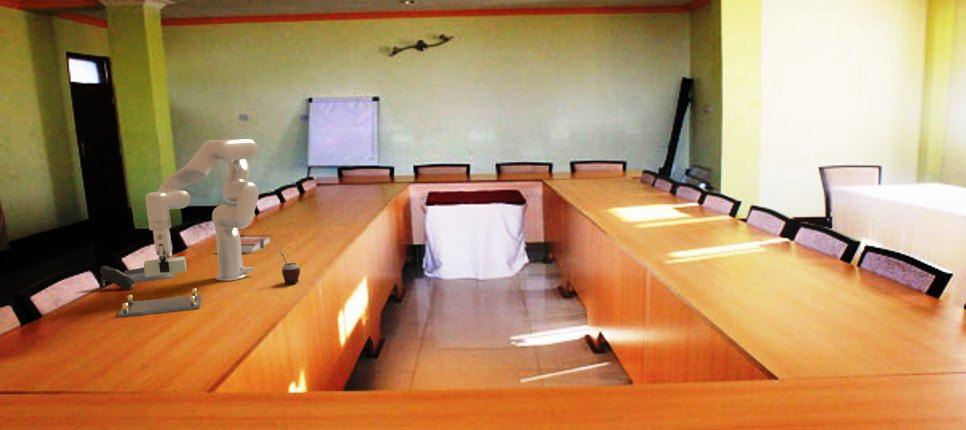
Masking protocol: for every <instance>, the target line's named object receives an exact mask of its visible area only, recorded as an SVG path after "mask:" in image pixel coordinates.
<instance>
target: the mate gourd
mask: <svg viewBox="0 0 966 430" xmlns="http://www.w3.org/2000/svg"><path fill="white" fill-rule="evenodd" d="M275 250H276V251H278V252H279V253H280V254H281V256H282V259H283V260H284V263H285V264H283V266H282V269H281V273H282V274H281V275H282V277H283V279H284V285H291V284H292V285H295V286H296V285H297V283H299V277H300V275H301V270H300V266H299V265H298V263H296V262H287V259H286V257H285V253H283V252H282V251H281V250H280V249H278V248H275Z"/></svg>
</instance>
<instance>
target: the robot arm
mask: <svg viewBox="0 0 966 430" xmlns="http://www.w3.org/2000/svg"><path fill="white" fill-rule="evenodd" d="M258 149H259V148H258V145H257V142H255V141H254V140H253V139H250V138H227V139H209V140H206V141H205V142H204V143H203V144H202V145H201V146H200V148H198V150H197V151H196V153H195V154H194V155H193V156H192V158H191V159H190V160H189V161H188V163H187V164H185V165H184V166H183V167H182V168H180V169H178V170H176V171H175V172H174V173H171V175H170V176H169V177H168V178H166V179H165V180H164V181H163V183H162V184H161V185H160V186H159V188H158V190H157V191H153V192H152V191H151V192H149V193H146V195H145V205H146V212H147V213H146V215H147V220H148V227H149V229H148V230H149V231H152V234H153V235H152V236H153V241H154V242H153V243H154V248H155V252H156V256H158V259H159V267H160V272H161V273H163V272H169V263H168V261H167V258H171V256H170V254H171V253H172V252H173V244H172V239H171V231H170V229H171V228H172V223H171V214H170V212H171V211H170V210H175V209H176V210H180V209H184V208H187V207H188V206H189V205H190V203H191V201H192V200H191V199H192V197H191V195H190V193H189V192H188V191H187V190H183V189H184V188H185V187H187V186H189V185H192V184H194V183H197V182H199V181H202V180H204V179H206V178H207V177H208V175H209V174H210V172H211V171H212V170H213V168H214V167H215V165H217V163H219V162H220V161H222V162H223V161H225V162H227V164H228V170H227V171H228V172H227V175H226V178H225V182H224V186H223V189H222V198H223V199H224V201H226V202H228V203H233V204H219V205H217V206H216V207H215V208H214V209H213V211H212V215H211V219H212V224H213V226H214V231H215V237H216V247H217V248H216V250H217V251H216V252H217V263H218V273H217V274H216V275H215V279H216V280H217V281H222V282H223V281H224V282H225V281H226V282H227V281H228V282H229V281H237V280H242V279H245V278H247V276H248V273H253V272H255V270H254V269H255V267H254V266H253V267H251V266H246V267H245V266H244V264H243V256H242V255H243V253H241V239H240V235H241V233H240V230H239V229H246V228H248V227H249V225H250V224H251V223H252V221H253V219H254V215H255V210H256V208H257V204H258V200H259V189H258V186H257V185H256V184H255V183H254V182H251V181H249V178H250V177H249V176H250V172H251V171H250V165H249V163H248V161H247V160H250V159H253V158H255V157H256V155H257V154H258V151H259V150H258ZM234 203H235V205H234Z"/></svg>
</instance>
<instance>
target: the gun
mask: <svg viewBox="0 0 966 430" xmlns="http://www.w3.org/2000/svg"><path fill="white" fill-rule="evenodd" d="M99 273H100V274H101V275H100V280H99V281H100V283H99V284H100V287H101V288H102V289H105V288H106V282H108V283H109V284H112V283H113V284H114V285H116V286H117V287H120V288H121V289H123V290H126V291H127V290H132V289H135V288H136V285H135V283H134V281H133V280H132V279H131V278H130V277H128V276H127V275H125V274H124V273H123V272H122V271H121V270H118V269H116V268H113V267H110V266H108V265H102V266H100V269H99Z"/></svg>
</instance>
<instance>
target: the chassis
mask: <svg viewBox="0 0 966 430" xmlns="http://www.w3.org/2000/svg"><path fill="white" fill-rule="evenodd" d="M191 293H192V295H183V296H182V295H181V296H175V297H174V296H173V297H164V298H155V299H144V300H134V298H133V294H128V295H127V301H125V302H124V303H122V304H121V305H122V307H121V308H120V310H119V311H118V313H117V318H124V317H126V318H128V317H134V316H135V317H136V316H144V315H151V314H152V315H153V314H163V313H173V312H182V311H187V310H188V311H189V310H190V311H191V310H198V309H200V308H201V303H202V299H203V298H202V297H203V296H202V294H198V291H197V287H196V288H195V287H194V288H192V289H191Z"/></svg>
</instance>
